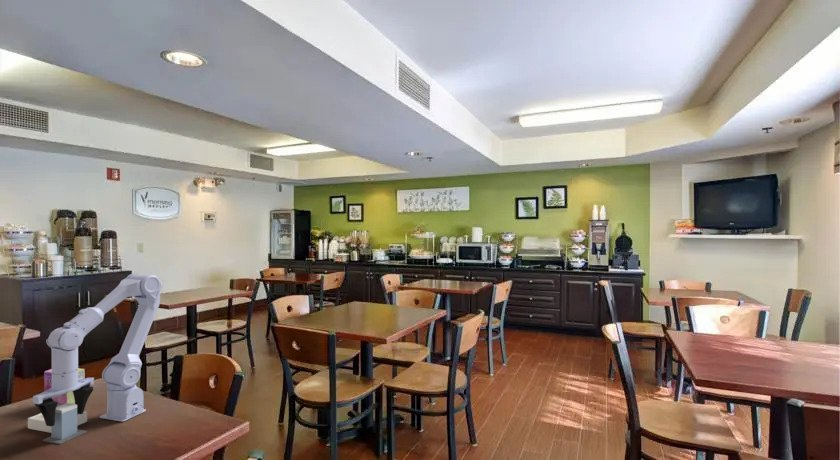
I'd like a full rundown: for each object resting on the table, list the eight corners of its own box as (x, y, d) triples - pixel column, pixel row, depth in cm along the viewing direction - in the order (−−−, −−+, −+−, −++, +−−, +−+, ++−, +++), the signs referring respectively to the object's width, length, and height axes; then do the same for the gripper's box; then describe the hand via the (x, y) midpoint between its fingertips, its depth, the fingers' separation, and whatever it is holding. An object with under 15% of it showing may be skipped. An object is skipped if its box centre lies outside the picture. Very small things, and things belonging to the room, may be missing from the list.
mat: (86, 432, 121) (86, 430, 121) (60, 444, 114) (60, 443, 114) (70, 429, 123) (70, 427, 123) (43, 441, 116) (43, 439, 116)
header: (87, 421, 128) (86, 409, 128) (58, 434, 120) (58, 421, 120) (57, 416, 131) (57, 404, 131) (27, 428, 123) (27, 416, 123)
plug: (77, 432, 120) (77, 404, 120) (61, 439, 116) (61, 410, 116) (67, 430, 121) (66, 402, 121) (51, 437, 117) (51, 408, 117)
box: (43, 407, 138) (43, 370, 138) (63, 400, 143) (63, 365, 143) (66, 411, 135) (66, 374, 135) (85, 404, 140) (85, 368, 140)
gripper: (81, 361, 126) (81, 406, 127) (24, 378, 112) (24, 429, 113) (99, 363, 125) (99, 409, 125) (43, 381, 111) (44, 432, 111)
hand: (65, 419), depth 119 cm, fingers open, 7 cm apart
